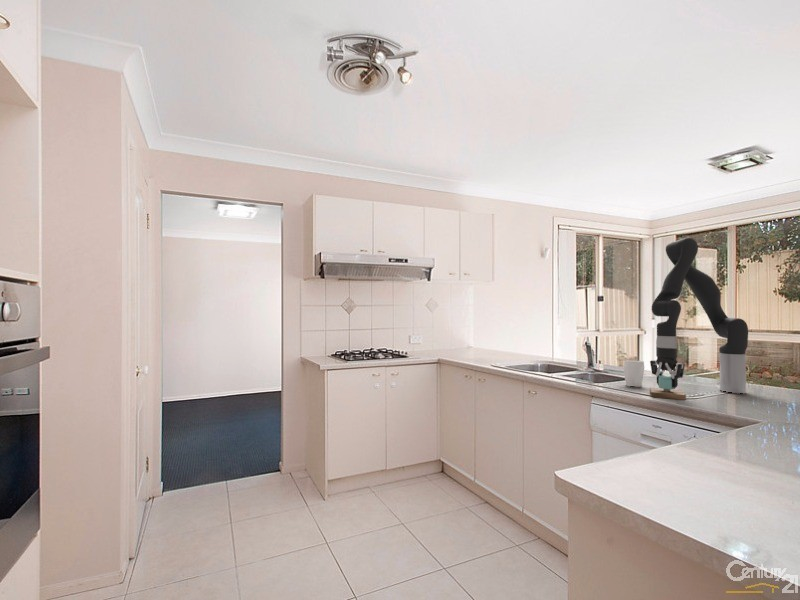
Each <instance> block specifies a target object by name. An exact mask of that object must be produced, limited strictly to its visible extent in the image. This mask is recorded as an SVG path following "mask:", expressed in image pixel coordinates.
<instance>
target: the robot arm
mask: <svg viewBox="0 0 800 600" xmlns="http://www.w3.org/2000/svg"><path fill="white" fill-rule="evenodd" d="M698 251H699V245H698V243H697V241H696V239H695V238H692V237H684V238H680V239H678V240H674V241H672V242H669V243H668V244H667V245H666V246H665V252H666V256H667V257H668V260H670V262H671V263H672V265H674V266H673V267H672V268H671V270H670V271H669V273H668V274H667V275H666V276H665V278H664V281H663V285H662V287H661V290H660V292H659V293H658V294H657V296H656V297H655V299H654V300H653V302H652V305H651V312H652V314H653V315H654V316H655V317H668V318H667V320H665V321H661V322H658V323H657V324H656V341H655V344H656V345H655V350H656V352H655V353H656V357H657V359H656V360H655V359H654V360H653V359H652V360H650V361H649V363H650V364H649V365H650V369H651V374H652V375H655V376H656V384H657V386H659V375H664V373H665V371H667V372H668V373H669V374H670V376H671V377H672V379H671V380H672V388H675V389H676V388H677V387H678V386H679V385H678V384H679V383H678V380H679V379H683V378H684V377H683V376H684V372H685V363H680V362H678V361H677V360H678V340H677V325H678V321H679V318H680V314H681V311H682V306H681V304H680V302H679V301H678V300H677V299H678V298H679V297H680V295H681V291H682V287H683V285H684V282H686V283H687V285H688V287H689V288H690V290H691V291H692V293H693V295H694V297H695V298H696V299H697V301H698V302H699V304H700V306H701V307H702V309H703V311H704V312H705V314H706V315H707V317H708V320H709V322H710V324H711V326H712V328H713V330H714V332H715V333H716V334H717V336H719V337H720V338H724V339H727V340H726V343H725V344H723V345H721V346H720V347H719V352H718V353H719V391H720V390H722V391H721V392H723V391H726V392H725V393H728V392H732V393H731V394H740V393H743V394H746V393H747V373H746V371H747V370H746V369H747V366H746V365H747V363H746V362H747V361H746V351H747V349H748V342H749V327H748V323H747V322H746V320H744V319H742V318H737V317H729V316H728V315H727V314H726V313H725V312H724V310H723V308H722V304H721V302H722V301H721V299H722V296H721V295H722V294H721V291H720V288H719V286H718V285H717V283H716V282H715V280H714V279H713V278H712V277H711V276H710V275H708V274H707V273H705V272H704V271H702V270H700V269H698V268H697V267H694V266H693V265H692V264H693V262H694V260H695V259H696V256H697V254H698Z"/></svg>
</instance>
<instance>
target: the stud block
mask: <svg viewBox="0 0 800 600" xmlns="http://www.w3.org/2000/svg"><path fill="white" fill-rule="evenodd" d="M649 394H650V397H651V398H656V399H657V398H658V399H668V400H669V399H670V400H680V401H681V400H682V401H686V400H687V396H686V394H685V392H684V390H682V389H681V390H680V389H662V388H659V387H657V388H655V387H650V388H649Z"/></svg>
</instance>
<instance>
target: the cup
mask: <svg viewBox="0 0 800 600" xmlns="http://www.w3.org/2000/svg"><path fill="white" fill-rule="evenodd" d="M622 367H623V368H622V369H623V375H624V381H625V382H624V383H625V386H627V387H630V386H635V387H634V388H641V387H642V386H643V380H644V374H645V361H643V360H634V359H625V360H623V363H622Z"/></svg>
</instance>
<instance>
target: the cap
mask: <svg viewBox="0 0 800 600" xmlns="http://www.w3.org/2000/svg"><path fill="white" fill-rule="evenodd" d="M671 379H672V377H671V375H667V374H665V375H664V374H663V375H659V385H658V388H659V389H672V390H676V388H672V380H671Z"/></svg>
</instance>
